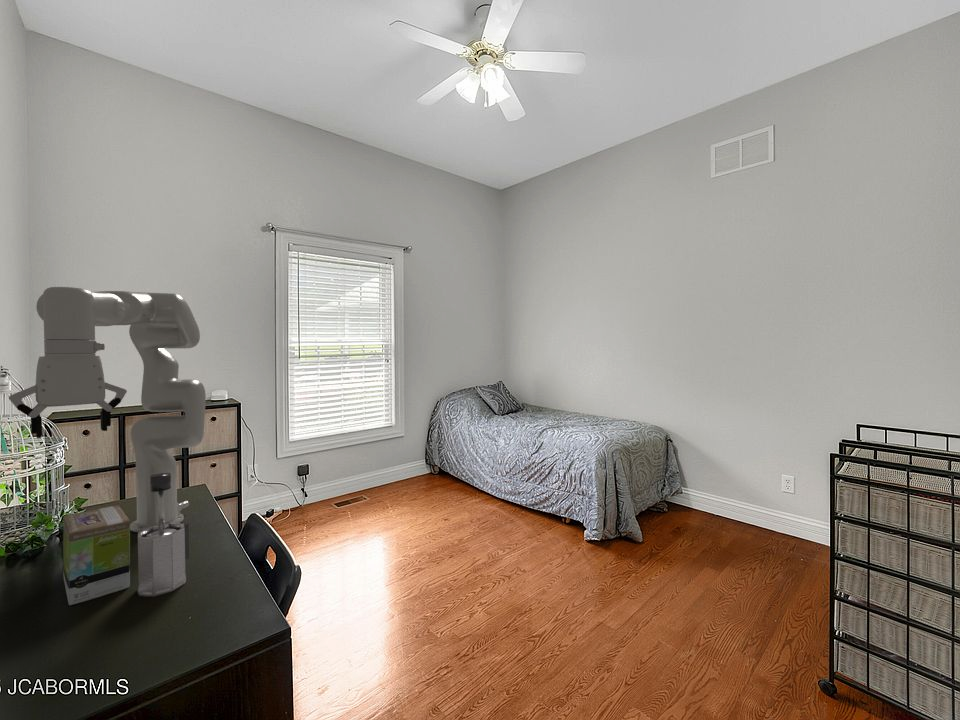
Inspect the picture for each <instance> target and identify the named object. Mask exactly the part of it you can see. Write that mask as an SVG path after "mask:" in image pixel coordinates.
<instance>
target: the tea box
mask: <svg viewBox="0 0 960 720" xmlns="http://www.w3.org/2000/svg"><path fill="white" fill-rule="evenodd" d="M130 525H131V522H130V519H129V517H128V516H127V515H126V513H125V512H124V510H123V509H122V508H121V507H120V505H119V504H118V505H111V506H106V507H102V508H101V507H100V508H96V509H91V510H86V511H81V512H75V513H71V514H66V515H63V517H62V561H63V562H62V566H63V567H62V571H63V572H62V574H63V576H62V578H63V582H64V587H65V594H66V598H67V602H68V606H72V605H76V604H80V603H85V602H87V601H90V600H94V599H97V598H100V597H103V596H107V595H109V594H112V593H113V594H114V593H116V592H119V591H123V590H125V589H128V588H130V586H131V552H130V551H131V530H130Z"/></svg>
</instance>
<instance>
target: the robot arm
mask: <svg viewBox="0 0 960 720" xmlns="http://www.w3.org/2000/svg"><path fill="white" fill-rule="evenodd" d="M35 308H36V312H37V315H38V317H39V318H40V319H41V320H42V322H43V347H44V356H43V355H42V356H38V358H37V359H38V360H37V364H36V373H35V385H32V386H30V387H28V388H25V389H23V390H20V391H18V392H15V393H13V394H10V395H9V396H8V399H9V401H10V402H11V403H12V404H13V406H14V407H15V408H16V409H17V410H18V411H19V412H22V413H23V415H26V416H28V417H29V418H30V431H31V432H30V434H31V435H33V434H35V435H36V439H41V438H43V423H42V422H43V418H42V416H41V414H42V413H43V411H44V410H46V409H47V408H48V407H49V408H51V407H52V408H53V407H55V408H56V407H66V406H68V407H69V406H79V405H80V406H81V405H82V406H83V405H94V404H97V405H98V406H99V407H100V408H101V411H100V412H99V414H100V430H101V431H103V432H107V431H108V427H111V425H112V422H111V421H112V418H111V417H112V415H111V412H112V411H113V410H114V409H115V408H116V407H118V406H119V404H121V402H122V400H123V399H124V397H125V396H126V394H127V391H128V390H127V389H125V388H122V387H121V386H120V387H119V386H116V385H114V384H111V383H108V382H105V375H104V374H105V373H104V370H103V369H104V367H103V363H102V359H101V356H100V355H96V354H97V352H98V351H99V352H100V351H104V350H105V348H106V347H105V343H100V342H97V340H96V327H112V326H129V331H128V332H129V337H130V338H129V339H130V340H131V341H132V344H133V345H134V347H135V349H136V350H137V352H138V354H139V356H140V358H141V360H142V363H143V364H142V365H143V375H142V382H141V383H142V385H141V394H140V395H141V396H140V397H141V398H140V400H141V407H142V408H143V409H144V411H145V410H146V411H148V412H151V413H155V412H156V413H166V412H169V413H170V412H171V413H172V412H184V414H183V415H158V416H147V417H143V418H141V419H138V420H137V421H135V422H134V423H133V425H132V426H131V429H130V437H131V442H132V446H133V451H134V457H135V486H136V487H135V488H136V520H135V521H133V522H131V523H130V532H134V533H139V532H141V531H143V530H145V529H148V528H150V527H152V526H157V525H159V519H158V492H151V491H150V476H152V475H155V474H159V473H171V488H170V489H168V490H165V491H164V524H167V523H182V522H183V521H184V518H185V517H184V516H185V515H184V514H183V513H181V512H180V511H182V510H183V509H186V508H187V507H189V506H190V502H189V501H188V500H185V501H182V502H178V489H177V488H178V483H177V482H178V481H177V480H178V479H177V478H178V477H177V476H178V475H177V474H178V473H177V461H176V458H175V456H173V454H172V453H171V452H170V451H169V450H170V449H180V448H181V449H182V448H183V449H184V448H194V447H197V446H198V445H200V444H201V443H202V441H203V438H204V434H205V421H206V419H205V417H206V400H207V398H206V397H207V396H206V395H207V394H206V389H205V386H204V384H203V383H202V382H201V381H200V380H197V379H179V368H180V367H179V363H178V361H177V359H176V358H175V356H174V355H172V353H170V352H169V351H168V350H167V349H185V350H186V349H192V348H195V347H196V346H197V345H198V344H199V343H200V338H201V333H200V328H199V325H198V323H197V321H196V318H195V316H194V314H193V312H192V310H191V308H190V305H189V303H187V301H186V300H185V298H183V297H182V296H181V295H180V294H177V293H170V292H169V293H168V292H167V293H165V292H141V291H140V292H139V291H127V290H125V291H124V290H104V291H101V290H100V291H90V290H88V289H85V288H80V287H72V286H71V287H70V286H50V287H47V288H45V289H44V291H43V293H42V294H40V296H39V297H38V299H37V301H36V307H35ZM106 390H107V391H110V392H114V393H115V396H114V398H112V399H111V400H110V401H109V402H107V401H106V400H105V399H106ZM32 394H35V401H36V403H37V404H36V405H35V406H34V407H33V408H32V407H30V406H29V405H26V404H25V403H24V402H23V398H26V397H28V396H31V395H32Z"/></svg>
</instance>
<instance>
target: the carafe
mask: <svg viewBox="0 0 960 720" xmlns="http://www.w3.org/2000/svg"><path fill="white" fill-rule="evenodd" d="M189 524H190V523H188V522H183V523H182V522H180V523H167V524H164V529H176V530H177V531H176V532H174V533H172V534H169V535H164V536H159V537H154V538H151V537H146V536H147V535H148V534H150V533H152V532H155V531H158V530H159V525H157V526H152V527H150V528H148V529H145V530H143V531H141V532H137V557H138V559H137V560H138V561H137V562H138V564H137V565H138V586H137V594H138V596H139V597H147V598H149V597H153V598H154V597H159V596H161V595H166V594H169V593H171V592H174V591H176V590H178V589H179V588H181V587H182V586H184V585H185V584H186V581H187V575H186V560H188V559H190V538H189V536H190V534H189V533H190V532H189V530H190V529H189Z"/></svg>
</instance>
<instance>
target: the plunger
mask: <svg viewBox="0 0 960 720" xmlns="http://www.w3.org/2000/svg"><path fill="white" fill-rule="evenodd" d="M170 488H171V473H159V474H155V475H152V476H150V491H151V492H158V519H159V530H158V531H155V532H152V533H150V534H148V535H147V536H146V537H151V538H154V537H159V536H164V535H169V534H172V533H174V532H176V531H177V530H176V529H164V491H165V490H168V489H170Z"/></svg>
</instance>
